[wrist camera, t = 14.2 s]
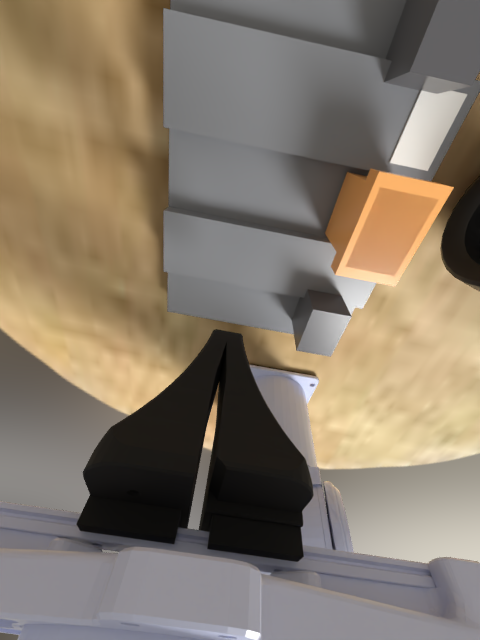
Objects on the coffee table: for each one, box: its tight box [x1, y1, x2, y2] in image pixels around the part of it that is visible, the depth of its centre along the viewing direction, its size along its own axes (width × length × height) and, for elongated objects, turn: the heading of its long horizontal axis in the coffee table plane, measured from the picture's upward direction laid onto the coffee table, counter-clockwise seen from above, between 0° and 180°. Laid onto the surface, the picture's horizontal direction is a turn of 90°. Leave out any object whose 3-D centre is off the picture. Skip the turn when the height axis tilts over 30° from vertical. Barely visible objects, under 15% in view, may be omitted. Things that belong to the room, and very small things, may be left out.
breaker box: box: [163, 0, 480, 357], centre depth 15 cm, size 20×14×6 cm
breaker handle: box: [325, 169, 454, 286], centre depth 13 cm, size 4×3×5 cm
